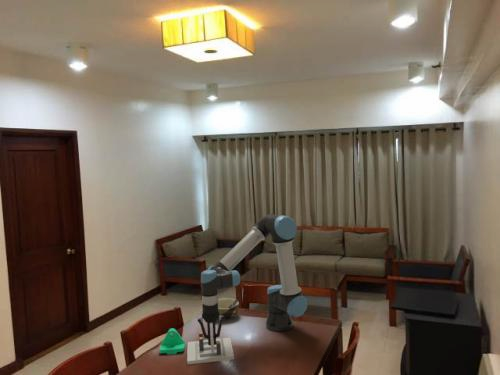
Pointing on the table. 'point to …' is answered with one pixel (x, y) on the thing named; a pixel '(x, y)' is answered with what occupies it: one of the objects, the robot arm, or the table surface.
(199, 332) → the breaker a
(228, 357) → the panel
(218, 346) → the breaker
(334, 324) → the table surface
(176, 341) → the camera mount
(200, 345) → the breaker
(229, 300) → the bowl
